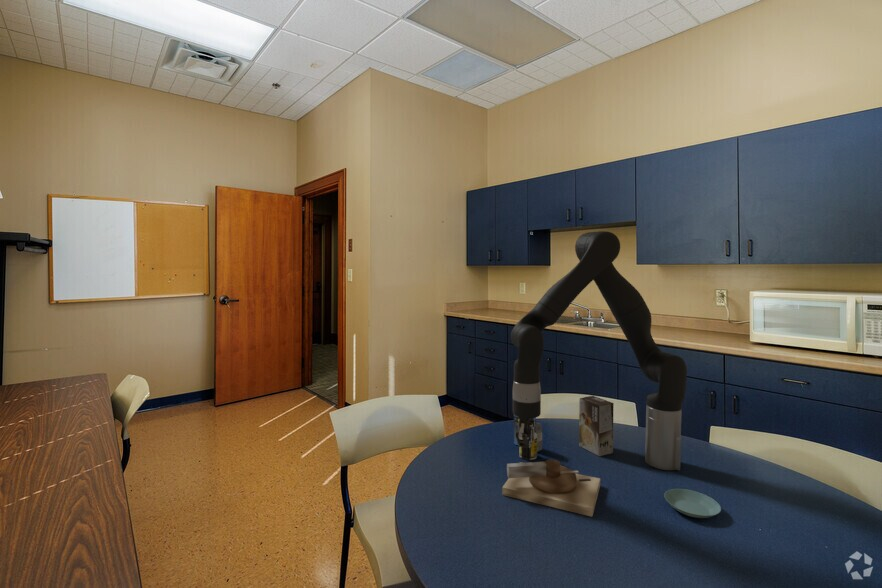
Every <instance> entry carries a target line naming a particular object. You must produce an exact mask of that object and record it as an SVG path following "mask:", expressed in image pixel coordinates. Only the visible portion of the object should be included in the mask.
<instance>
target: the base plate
mask: <svg viewBox="0 0 882 588" xmlns="http://www.w3.org/2000/svg"><path fill="white" fill-rule="evenodd" d="M519 463H523V462H521V461H520V462H519ZM575 474H576V488H575V489H574V490H572V491H570V492H567V493H549V492H545V491H542V490H539V489H537V488H536V487H534V486H533V485H532V484H531V483H530V481H529V477H523V478H507V480H506V481H505V483H504V484H503V486H502V487H501V488H502V489H501V490H502V491H501V492H502V493H501V495H502V496H506V497H510V498H512V499H513V498H514V499H517V500H522V501H526V502H530V503H534V504H538V505H542V506H547V507H551V508H555V509H558V510H563V511H567V512H570V513H575V514H580V515H583V516H588V517H592V518H593V516H594V512H595V508H596V503H597V500H598V497H599V493H600V492H599V491H600V488H601V478H600V477H595V476H590V475H585V474H580V473H575Z"/></svg>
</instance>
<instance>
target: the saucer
mask: <svg viewBox="0 0 882 588" xmlns="http://www.w3.org/2000/svg"><path fill="white" fill-rule="evenodd" d="M663 496H664V499H665V501H666V503H668V504H669V505H670V506H671V507H672V508H673V509H675V511H678V512H679V513H681V514H683V515H685V516H687V517H690V518H695V519H696V518H697V519H708V518H713V517H715V516H716V515H718V514H720V513H721V511H722V507H721V505H720V503H719V502H717V501H716V500H715V499H713V498H712V497H711V496H708V495H707V494H705V493H701V492H699V491H697V490H696V491H695V490H692V489H686V488H672V489H667V490H666V491H665V492H664V494H663Z"/></svg>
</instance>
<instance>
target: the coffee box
mask: <svg viewBox="0 0 882 588" xmlns="http://www.w3.org/2000/svg"><path fill="white" fill-rule="evenodd" d="M578 403H579V413H578V414H579V417H578V419H579V420H578V422H579V424H578V427H579V428H578V429H579V431H578V433H579V434H578V446H579V447H580V448H582V449H584V450H586V451H589V452H590V453H592V454H594V455H596V456H598V457H602V456H606V455H610V454H613V453H614V405H615V404H614V402H612V401H609V400H606V399H603V398H600V397H598V396H594V395H590V396H589V395H588V396H585V397H584V396H583V397H579V402H578Z"/></svg>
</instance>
